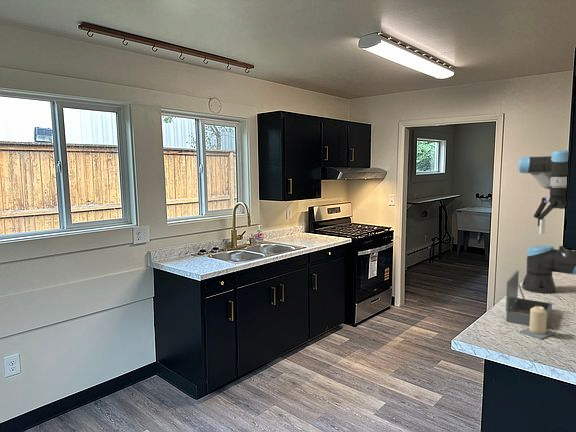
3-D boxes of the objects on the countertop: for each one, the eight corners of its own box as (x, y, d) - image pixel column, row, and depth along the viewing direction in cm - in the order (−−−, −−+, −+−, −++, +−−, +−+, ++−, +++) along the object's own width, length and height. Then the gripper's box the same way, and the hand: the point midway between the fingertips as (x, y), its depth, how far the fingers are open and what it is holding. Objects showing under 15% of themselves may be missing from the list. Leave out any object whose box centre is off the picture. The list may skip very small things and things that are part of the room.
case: (515, 306, 188) (516, 269, 186) (551, 312, 178) (553, 274, 177) (504, 321, 170) (506, 281, 168) (545, 329, 161) (547, 286, 159)
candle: (534, 334, 154) (536, 309, 153) (526, 329, 160) (527, 304, 159) (549, 334, 154) (550, 309, 153) (539, 328, 160) (541, 304, 159)
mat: (534, 327, 163) (534, 325, 163) (555, 334, 156) (555, 332, 156) (519, 332, 158) (519, 330, 158) (540, 339, 151) (540, 338, 151)
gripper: (526, 186, 181) (524, 233, 184) (588, 187, 159) (585, 240, 162) (536, 186, 185) (534, 231, 187) (598, 187, 163) (595, 238, 165)
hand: (557, 235), depth 174 cm, fingers open, 13 cm apart
